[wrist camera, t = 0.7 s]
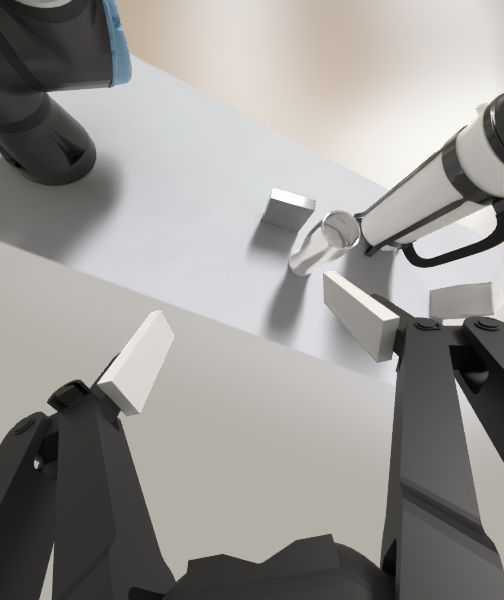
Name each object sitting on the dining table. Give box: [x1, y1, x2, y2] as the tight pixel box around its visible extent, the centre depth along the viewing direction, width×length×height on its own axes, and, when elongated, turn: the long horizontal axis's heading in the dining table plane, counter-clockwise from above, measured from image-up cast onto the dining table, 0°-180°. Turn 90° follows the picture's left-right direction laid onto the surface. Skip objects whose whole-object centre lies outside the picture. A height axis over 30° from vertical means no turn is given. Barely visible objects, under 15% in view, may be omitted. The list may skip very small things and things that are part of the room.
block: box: [262, 188, 316, 231], centre depth 40 cm, size 2×9×8 cm, turn 79°
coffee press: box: [353, 93, 504, 268], centre depth 33 cm, size 17×16×30 cm
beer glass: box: [289, 210, 361, 276], centre depth 36 cm, size 7×7×15 cm
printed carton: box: [430, 282, 494, 319], centre depth 42 cm, size 4×7×10 cm, turn 169°
